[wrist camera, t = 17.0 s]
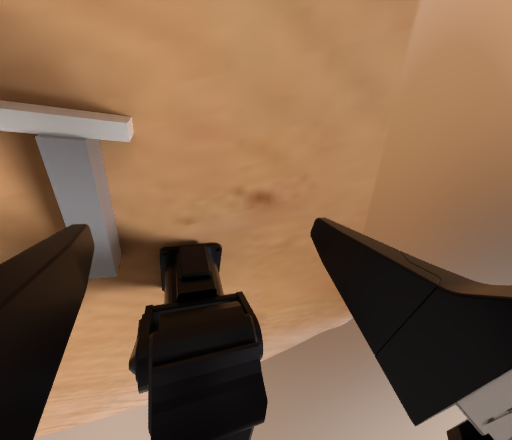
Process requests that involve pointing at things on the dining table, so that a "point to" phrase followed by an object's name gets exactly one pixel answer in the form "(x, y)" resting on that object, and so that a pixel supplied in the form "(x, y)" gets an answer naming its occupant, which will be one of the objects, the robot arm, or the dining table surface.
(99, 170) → the pusher tool
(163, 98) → the dining table surface
